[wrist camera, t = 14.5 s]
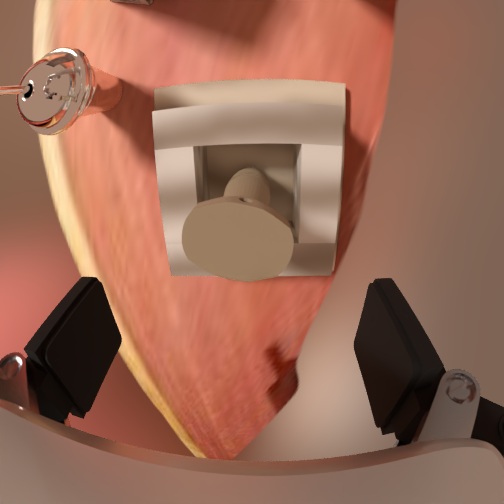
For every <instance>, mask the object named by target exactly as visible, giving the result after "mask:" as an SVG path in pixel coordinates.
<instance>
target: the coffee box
mask: <svg viewBox="0 0 504 504" xmlns="http://www.w3.org/2000/svg"><path fill="white" fill-rule="evenodd" d="M110 1H112V2H125V3H136V4H146V5H150V4H151V3H152V2H153V0H110Z"/></svg>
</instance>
